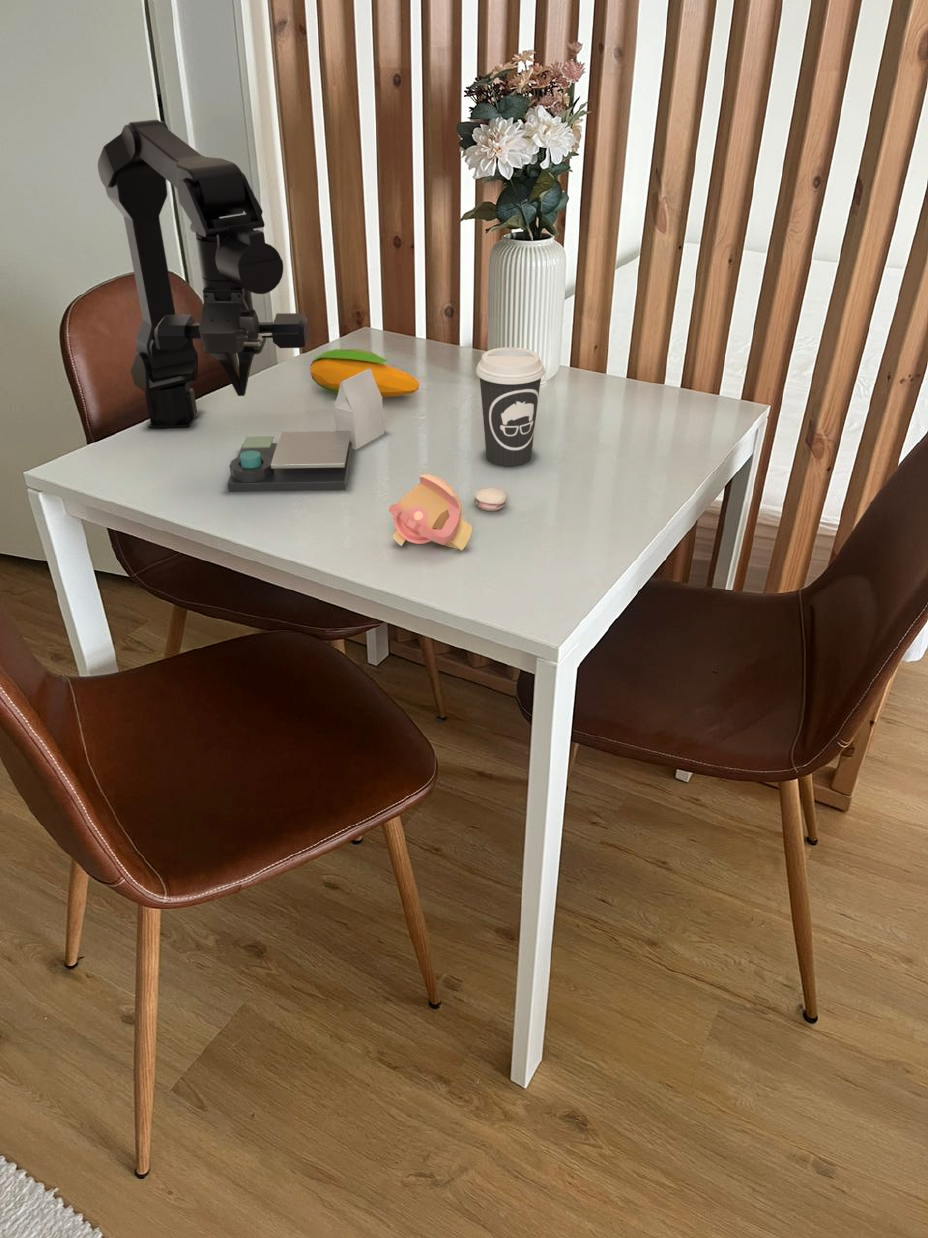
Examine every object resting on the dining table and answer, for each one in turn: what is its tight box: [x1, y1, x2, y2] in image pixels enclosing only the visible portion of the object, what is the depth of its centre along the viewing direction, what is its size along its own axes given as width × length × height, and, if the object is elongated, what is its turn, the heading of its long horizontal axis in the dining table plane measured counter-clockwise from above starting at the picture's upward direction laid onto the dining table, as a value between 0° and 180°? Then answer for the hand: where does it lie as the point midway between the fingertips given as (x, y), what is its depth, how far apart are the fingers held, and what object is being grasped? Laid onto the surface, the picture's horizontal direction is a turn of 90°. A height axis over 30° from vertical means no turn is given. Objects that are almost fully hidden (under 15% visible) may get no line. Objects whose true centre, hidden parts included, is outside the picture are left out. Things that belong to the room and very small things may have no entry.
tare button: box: [240, 451, 262, 468], centre depth 138 cm, size 3×3×2 cm
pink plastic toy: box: [388, 473, 474, 552], centre depth 124 cm, size 9×10×10 cm
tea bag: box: [333, 369, 385, 450], centre depth 149 cm, size 4×7×10 cm, turn 146°
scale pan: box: [271, 430, 350, 469], centre depth 141 cm, size 10×11×1 cm
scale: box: [226, 442, 353, 493], centre depth 142 cm, size 16×13×3 cm
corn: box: [309, 348, 420, 398], centre depth 164 cm, size 7×8×20 cm
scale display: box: [241, 435, 275, 448], centre depth 143 cm, size 4×4×1 cm
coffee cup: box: [475, 346, 546, 467], centre depth 142 cm, size 10×10×15 cm
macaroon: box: [474, 487, 507, 512], centre depth 133 cm, size 4×5×2 cm
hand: (241, 394), depth 133 cm, fingers closed
